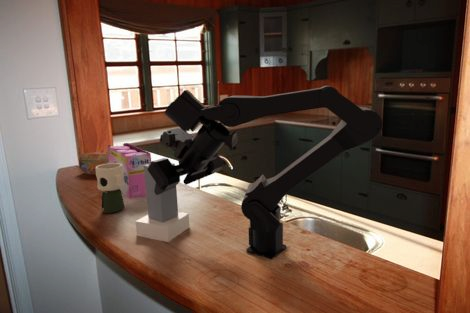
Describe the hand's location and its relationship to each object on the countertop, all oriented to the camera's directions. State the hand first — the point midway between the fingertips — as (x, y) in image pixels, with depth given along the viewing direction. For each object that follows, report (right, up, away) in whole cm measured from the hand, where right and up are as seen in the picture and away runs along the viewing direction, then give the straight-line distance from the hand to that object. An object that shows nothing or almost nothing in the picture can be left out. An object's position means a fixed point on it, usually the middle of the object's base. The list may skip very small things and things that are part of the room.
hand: (170, 188), depth 87 cm
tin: (-38, 0, +60) cm, 71 cm away
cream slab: (-2, -11, +4) cm, 12 cm away
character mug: (-19, -8, +19) cm, 28 cm away
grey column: (-2, -7, +3) cm, 8 cm away
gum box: (-20, -4, +40) cm, 45 cm away
